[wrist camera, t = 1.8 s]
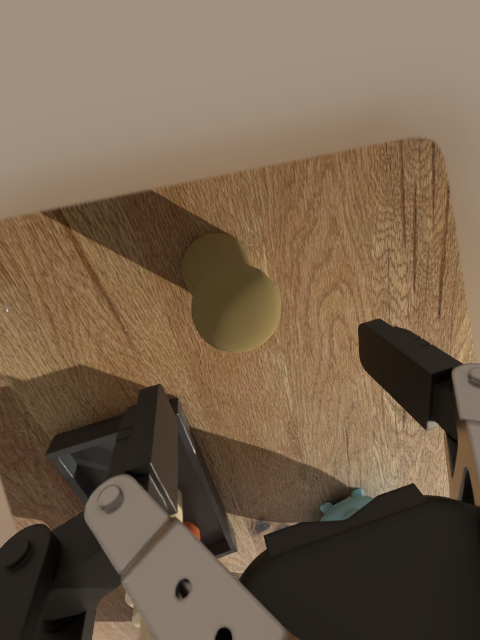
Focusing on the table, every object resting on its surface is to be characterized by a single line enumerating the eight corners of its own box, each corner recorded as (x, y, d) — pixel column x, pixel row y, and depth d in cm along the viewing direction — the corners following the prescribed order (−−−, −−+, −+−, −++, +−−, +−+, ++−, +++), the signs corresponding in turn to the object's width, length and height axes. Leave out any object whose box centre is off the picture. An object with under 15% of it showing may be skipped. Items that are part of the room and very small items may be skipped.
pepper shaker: (240, 306, 27) (277, 375, 17) (175, 294, 26) (175, 363, 16) (259, 241, 25) (312, 278, 15) (188, 224, 23) (197, 252, 14)
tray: (54, 435, 29) (45, 454, 27) (178, 397, 30) (178, 413, 28) (147, 564, 41) (145, 584, 39) (234, 533, 42) (237, 551, 40)
